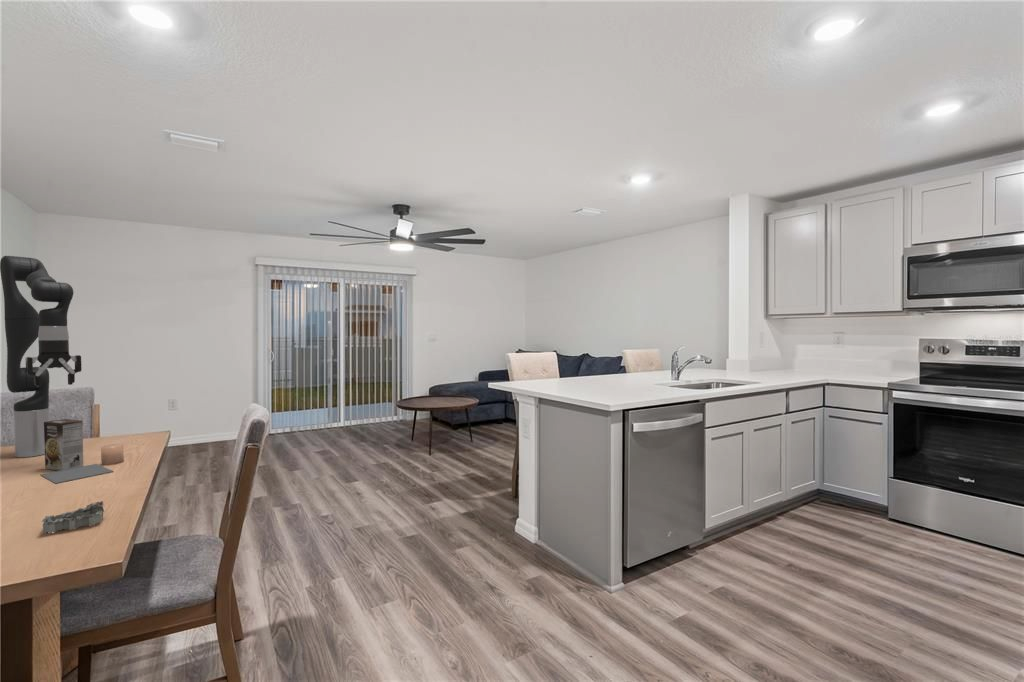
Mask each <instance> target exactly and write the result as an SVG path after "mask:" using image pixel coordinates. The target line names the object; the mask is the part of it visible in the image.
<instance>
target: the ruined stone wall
mask: <svg viewBox="0 0 1024 682" xmlns="http://www.w3.org/2000/svg"><path fill="white" fill-rule="evenodd" d="M103 506H104V501H97V502H94V503H90V504H87V505H86V507H81V508H80V507H79V508H78V509H77V510H73V511H67V512H63V513H60V514H57V515H53V514H52V515H46V516H45V517H44V518H43V519H42V520H41V523H43V524H42V534H43V533H44V534H47V533H46V532H49V533H52V532H56V531H58V530H61V531H63V530H62V529H66V530H68V529H69V531H72V530H71V529H73V530H76V529H77V528H81V527H93V526H92V525H94V526H95V524H96V525H97V523H98V524H101V523H103V518H104V513H105V510H104V507H103ZM100 522H101V523H100ZM86 525H87V526H86ZM58 532H59V531H58ZM49 533H48V534H49ZM56 533H57V532H56Z"/></svg>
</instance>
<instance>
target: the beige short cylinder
mask: <svg viewBox="0 0 1024 682" xmlns="http://www.w3.org/2000/svg"><path fill="white" fill-rule="evenodd" d="M100 457H101V458H100V460H101V463H100V466H112V465H113V464H114V465H117V464H118V465H119V464H121V463H123V462H125V460H124V459H125V458H124V457H125V456H124V443H123V444H122V443H115V444H107V445H103V446H100Z"/></svg>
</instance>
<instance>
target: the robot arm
mask: <svg viewBox="0 0 1024 682" xmlns="http://www.w3.org/2000/svg"><path fill="white" fill-rule="evenodd" d="M0 280H1V285H2V291H3V300H4V301H3V304H4V331H5V339H6V340H5V342H6V354H7V356H6V357H7V358H6V385H7V389H8V391H9V392H10V393H16V394H17V393H18V394H19V393H28V392H35V393H34V394H33V395H31V396H29V397H28V398H26V399H23V400H21V401H17V402H15V403H14V404H13V426H14V430H13V431H14V457H15V458H30V457H36V456H42V455H45V443H44V422H47V421H50V409H49V408H50V407H49V406H50V404H49V403H50V400H49V399H50V395H49V394H50V392H49V391H50V372H49V369H54V368H56V369H61V368H63V369H64V370H65V371H66V372H67V385H69V386H70V385H71V386H73V384H74V383H75V381H76V380H75V379H76V377H75V375H76V373H80V372H82V356H81V355H80V354H76V355H70V345H69V344H70V343H69V342H70V341H69V339H70V336H69V330H68V312H69V308H70V304H71V303H72V300H73V296H74V288H73V287H72V285H70V284H69V283H67V282H60V281H56V279H55V278H53V277H52V276H50V275H49V272H48V271H47V269H46V266H45V265H44V263H43V262H42V261H41V260H39V259H37V258H34V257H26V256H14V255H4V256H2V257H1V258H0ZM17 282H25V283H26V285H27V286H28V288H29V289H30V295H31V297H32V299H34V301H36V302H41V303H43V302H44V303H57V305H56V306H55V307H53V308H44V309H43V308H42V309H41V310H39V312H38V311H37V309H36V308H35V307H34V306H33V305H32V304H31V303H30V302H29V301H27V299H26V297H24V296H23V294H22V292H20V290H19V288H18V284H17ZM37 339H38V340H37ZM35 341H38V354H37V355H38V356H34V357H31V356H27V357H25V367H21V365H22V359H23V357H24V356H25V354H26V353H27V351H28V350H29V349H30V347H31V346H32V345H33V343H35ZM70 360H72V362H74V368H72V367H71V366H70V365H69V363H68V362H70ZM36 361H38V362H39V364H40V365H39V366H34V365H33V364H35V363H36Z"/></svg>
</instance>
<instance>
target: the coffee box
mask: <svg viewBox="0 0 1024 682" xmlns="http://www.w3.org/2000/svg"><path fill="white" fill-rule="evenodd" d="M83 425H84V422H83V420H79V419H69V418H64V419H56V420H55V419H54V420H49V421H47V422H44V443H45V454H44V468H45V469H46V470H51V471H52V470H53V471H61V470H66V469H71V468H76V467H82V466H84V429H83V428H84V427H83Z"/></svg>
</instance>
